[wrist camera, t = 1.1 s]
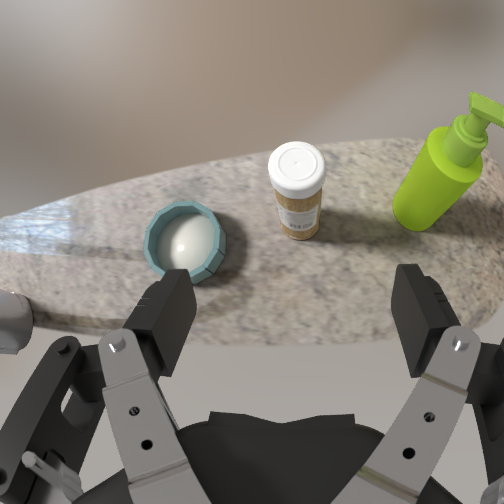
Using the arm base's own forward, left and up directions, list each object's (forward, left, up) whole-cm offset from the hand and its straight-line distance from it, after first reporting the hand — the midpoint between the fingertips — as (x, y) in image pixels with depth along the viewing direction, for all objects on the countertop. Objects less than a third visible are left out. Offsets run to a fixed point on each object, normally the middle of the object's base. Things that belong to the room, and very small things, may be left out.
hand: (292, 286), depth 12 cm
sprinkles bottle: (+10, +5, -23) cm, 25 cm away
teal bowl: (+1, +15, -23) cm, 27 cm away
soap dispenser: (+19, -7, -23) cm, 30 cm away
